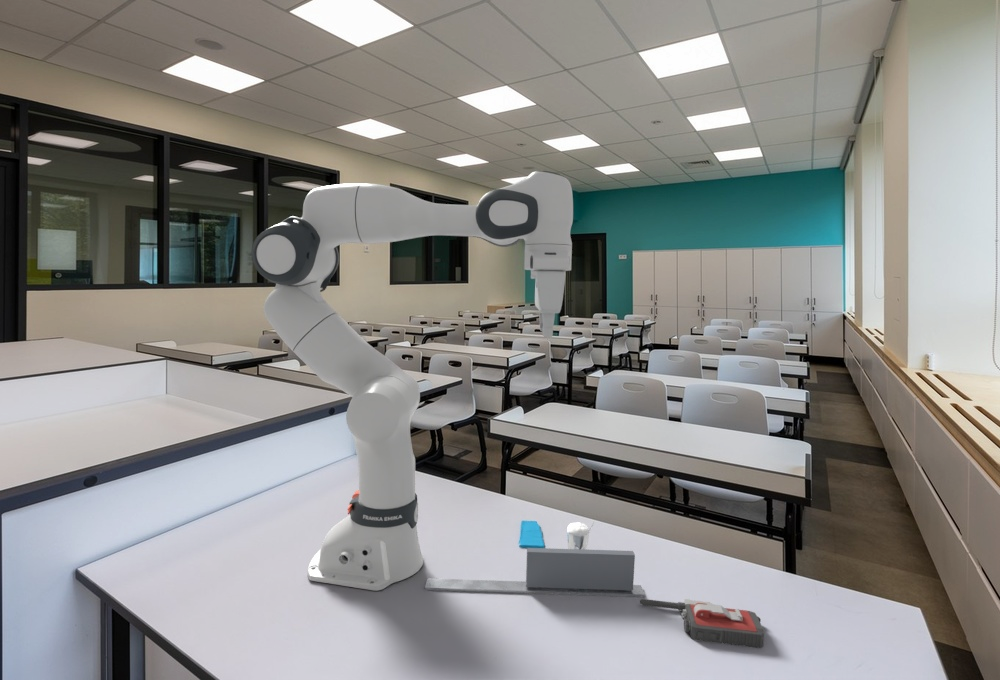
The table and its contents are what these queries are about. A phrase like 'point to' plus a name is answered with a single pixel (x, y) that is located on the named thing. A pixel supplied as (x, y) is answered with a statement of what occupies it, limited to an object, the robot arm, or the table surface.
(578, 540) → the milkshake
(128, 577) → the table surface
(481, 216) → the robot arm
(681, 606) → the walkie-talkie
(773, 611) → the table surface
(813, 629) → the table surface
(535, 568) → the screen
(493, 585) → the rail
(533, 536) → the sponge
